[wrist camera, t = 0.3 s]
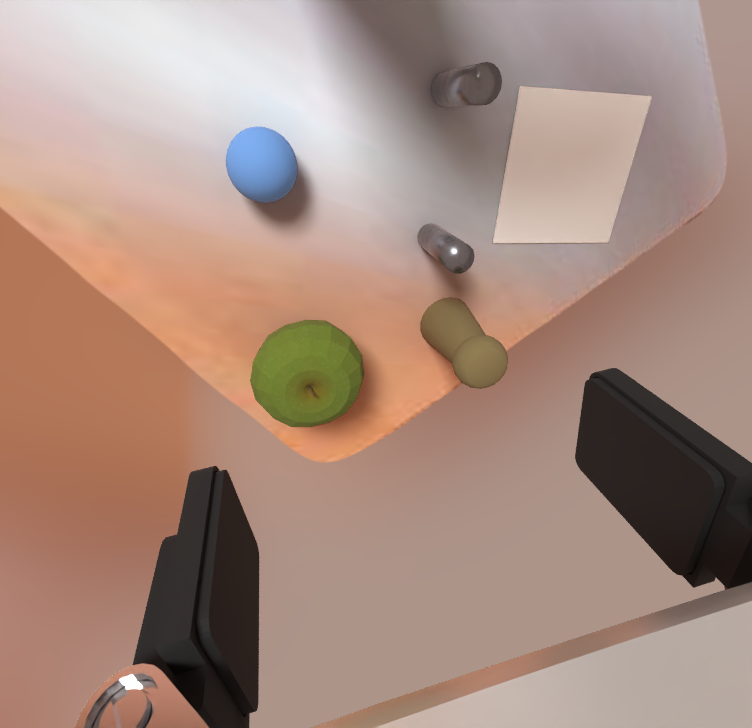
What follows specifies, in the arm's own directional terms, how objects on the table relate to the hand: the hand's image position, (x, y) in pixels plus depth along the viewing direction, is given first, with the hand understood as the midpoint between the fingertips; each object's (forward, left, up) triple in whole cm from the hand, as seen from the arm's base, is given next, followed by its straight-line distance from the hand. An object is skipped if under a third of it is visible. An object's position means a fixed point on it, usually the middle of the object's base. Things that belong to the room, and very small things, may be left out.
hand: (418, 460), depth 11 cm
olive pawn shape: (+12, +15, -35) cm, 40 cm away
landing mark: (-4, +26, -35) cm, 44 cm away
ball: (-4, -4, -32) cm, 32 cm away
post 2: (+3, +12, -35) cm, 37 cm away
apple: (+14, -1, -35) cm, 38 cm away
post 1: (-10, +12, -35) cm, 38 cm away
